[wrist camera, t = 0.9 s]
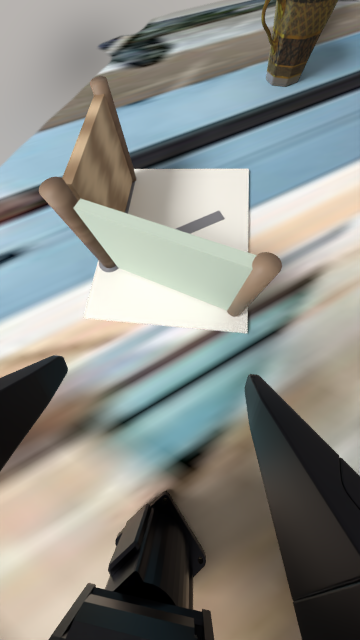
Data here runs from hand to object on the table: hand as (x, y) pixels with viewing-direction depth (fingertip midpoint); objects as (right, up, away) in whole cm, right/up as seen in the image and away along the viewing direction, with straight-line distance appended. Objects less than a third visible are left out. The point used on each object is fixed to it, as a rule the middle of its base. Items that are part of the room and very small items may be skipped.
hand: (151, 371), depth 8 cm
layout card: (0, +15, +18) cm, 24 cm away
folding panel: (+1, +7, +15) cm, 17 cm away
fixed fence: (-8, +19, +19) cm, 28 cm away
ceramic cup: (+21, +52, +27) cm, 62 cm away
